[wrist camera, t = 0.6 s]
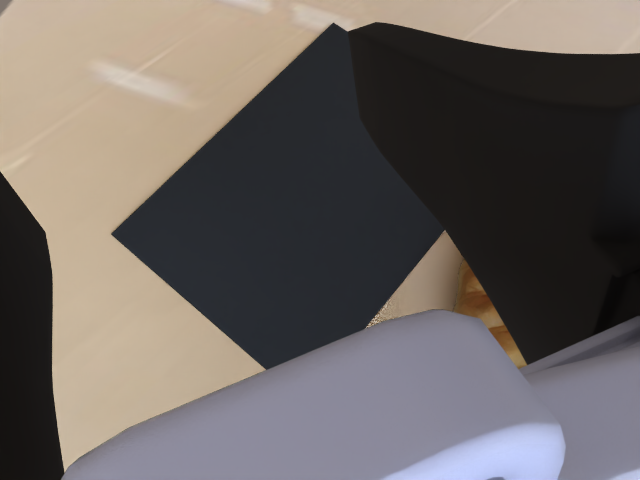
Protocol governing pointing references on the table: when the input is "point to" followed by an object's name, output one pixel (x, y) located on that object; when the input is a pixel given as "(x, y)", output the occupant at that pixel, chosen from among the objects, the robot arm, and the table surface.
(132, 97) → the table surface
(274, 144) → the placemat
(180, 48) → the table surface
